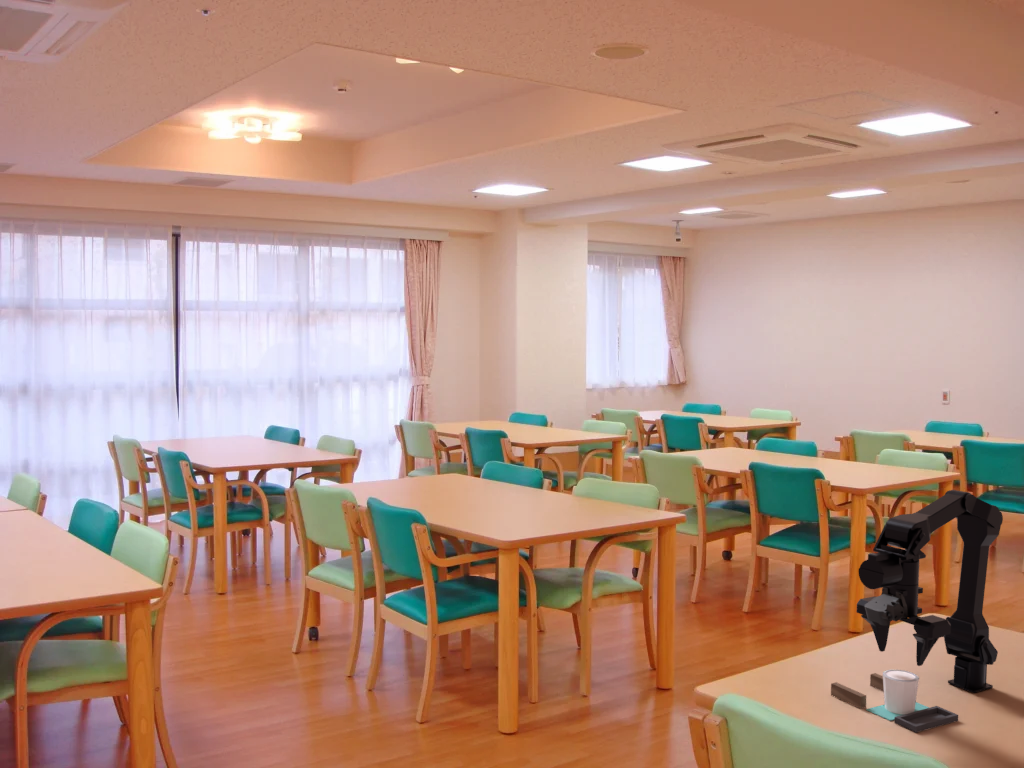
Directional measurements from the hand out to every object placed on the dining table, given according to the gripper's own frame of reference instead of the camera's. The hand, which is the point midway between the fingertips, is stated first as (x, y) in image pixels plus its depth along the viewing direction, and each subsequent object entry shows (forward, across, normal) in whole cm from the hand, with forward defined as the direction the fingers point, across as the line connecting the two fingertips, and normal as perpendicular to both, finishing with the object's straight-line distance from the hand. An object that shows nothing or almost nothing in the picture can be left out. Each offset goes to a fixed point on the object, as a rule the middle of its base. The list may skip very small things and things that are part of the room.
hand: (900, 658), depth 196 cm
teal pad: (+11, 0, 0) cm, 11 cm away
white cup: (+11, 0, 0) cm, 11 cm away
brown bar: (+11, -8, 0) cm, 13 cm away
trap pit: (+11, +6, 0) cm, 13 cm away
